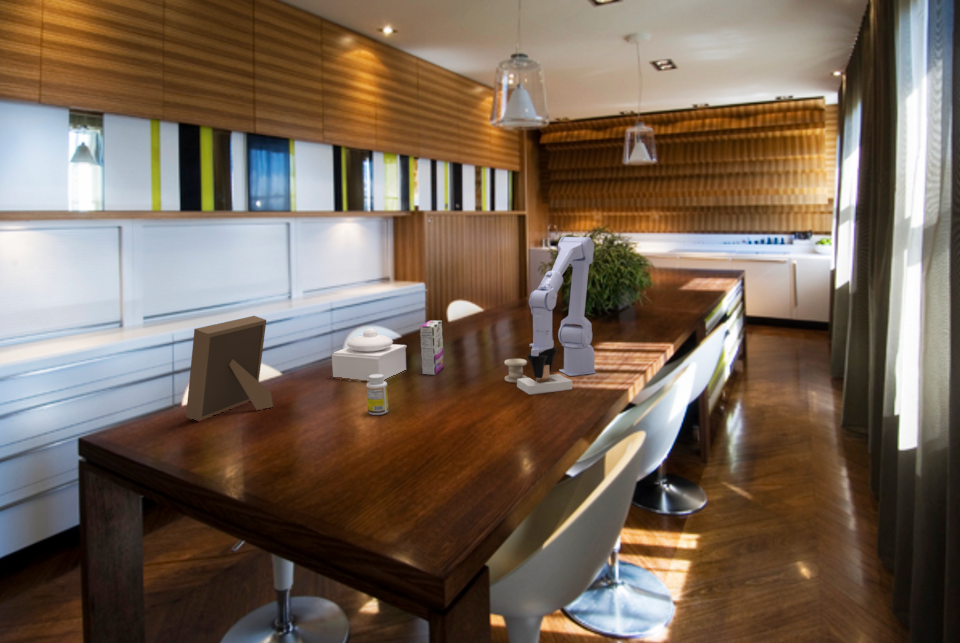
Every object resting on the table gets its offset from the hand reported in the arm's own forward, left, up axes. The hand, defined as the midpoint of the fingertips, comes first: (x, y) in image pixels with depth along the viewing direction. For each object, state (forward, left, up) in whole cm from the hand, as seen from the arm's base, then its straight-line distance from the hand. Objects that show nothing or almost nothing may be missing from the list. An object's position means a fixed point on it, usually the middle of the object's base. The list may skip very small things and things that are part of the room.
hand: (542, 374), depth 195 cm
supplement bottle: (+51, +5, -4) cm, 51 cm away
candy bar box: (+25, -33, -4) cm, 42 cm away
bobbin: (+4, -11, -4) cm, 13 cm away
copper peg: (0, 0, -4) cm, 4 cm away
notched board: (0, +1, -4) cm, 4 cm away
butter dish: (+45, -38, -4) cm, 59 cm away
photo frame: (+87, -12, -4) cm, 88 cm away
